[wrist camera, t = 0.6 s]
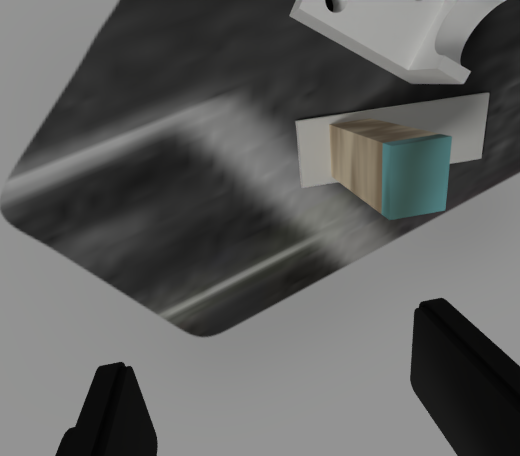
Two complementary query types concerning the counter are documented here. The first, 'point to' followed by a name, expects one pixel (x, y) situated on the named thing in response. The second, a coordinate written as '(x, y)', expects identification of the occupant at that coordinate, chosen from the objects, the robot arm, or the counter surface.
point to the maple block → (391, 166)
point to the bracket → (401, 33)
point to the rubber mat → (411, 115)
